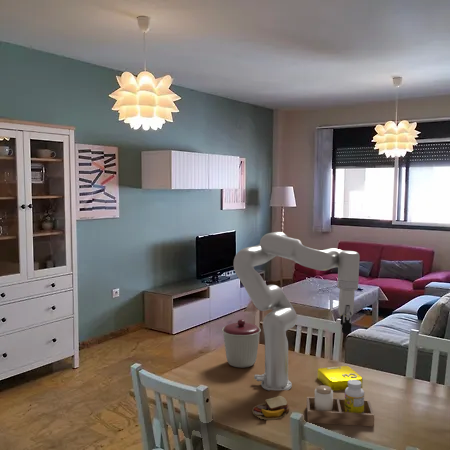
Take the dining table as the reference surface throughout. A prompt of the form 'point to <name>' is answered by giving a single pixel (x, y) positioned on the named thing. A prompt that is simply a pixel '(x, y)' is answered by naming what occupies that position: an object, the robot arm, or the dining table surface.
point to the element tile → (337, 377)
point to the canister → (241, 343)
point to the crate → (340, 414)
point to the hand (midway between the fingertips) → (345, 328)
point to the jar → (323, 398)
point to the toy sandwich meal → (271, 408)
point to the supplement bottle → (354, 397)
